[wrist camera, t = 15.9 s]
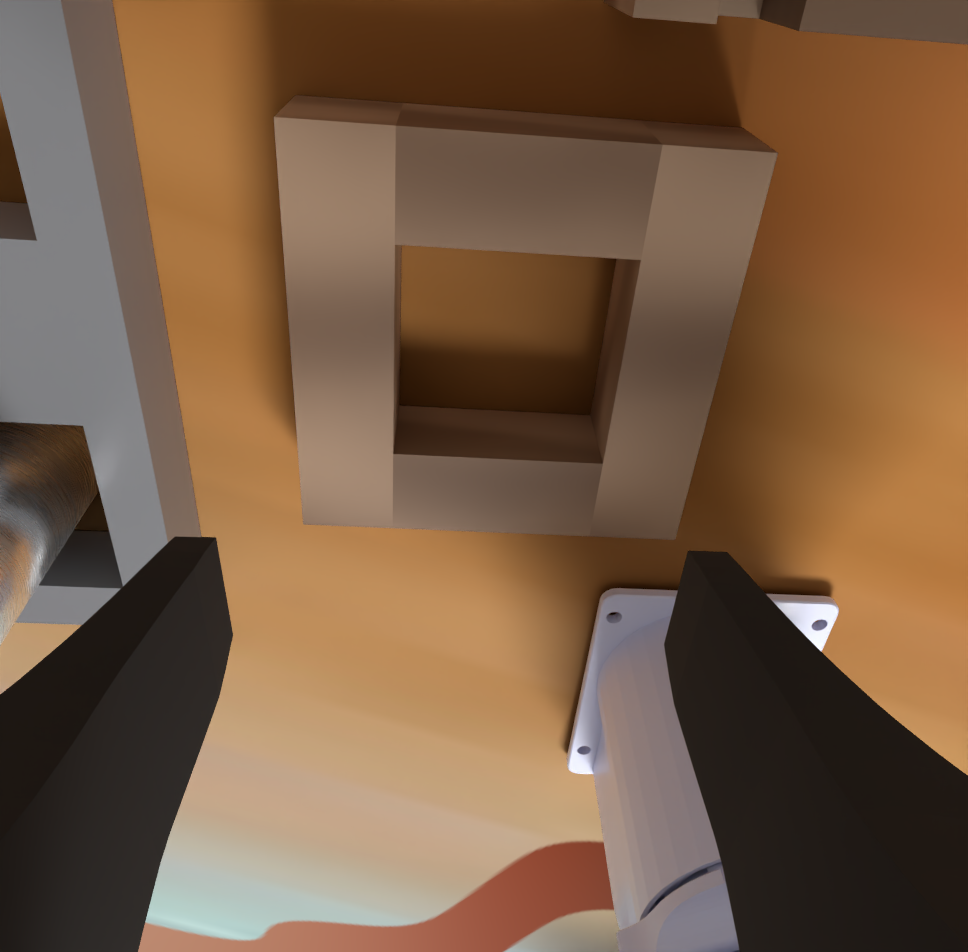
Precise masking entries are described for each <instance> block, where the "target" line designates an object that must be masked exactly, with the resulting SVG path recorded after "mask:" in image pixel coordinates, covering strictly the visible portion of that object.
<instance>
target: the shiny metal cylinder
mask: <svg viewBox="0 0 968 952" xmlns="http://www.w3.org/2000/svg"><path fill="white" fill-rule="evenodd" d="M98 491H99V488H98V484H97V480H96V476H95V472H94V468H93V463H92V459H91V455H90V451H89V447H88V443H87V439H86V435H85V431H84V427H83V426H78V425H58V424H37V423H16V422H0V645H1V644H2V642H3V640H4V639H5V637H6V636H7V634H8V633H9V631H10V629H11V628H12V626H13V625H14V623H15V622H16V620H17V618H18V617H19V615H20V614H21V612H22V611H23V609H24V607H25V606H26V604H27V603H28V601H29V600H30V598H31V596H32V595H33V593H34V592H35V590H36V589H37V587H38V585H39V584H40V582H41V581H42V579H43V578H44V576H45V574H46V573H47V571H48V570H49V568H50V567H51V565H52V563H53V562H54V560H55V559H56V557H57V556H58V554H59V552H60V551H61V549H62V548H63V546H64V545H65V543H66V541H67V540H68V538H69V537H70V535H71V534H72V532H73V530H74V529H75V527H76V526H77V524H78V523H79V521H80V519H81V518H82V516H83V515H84V513H85V512H86V510H87V508H88V507H89V505H90V504H91V502H92V501H93V499H94V497H95V496H96V494H97V493H98Z"/></svg>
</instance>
